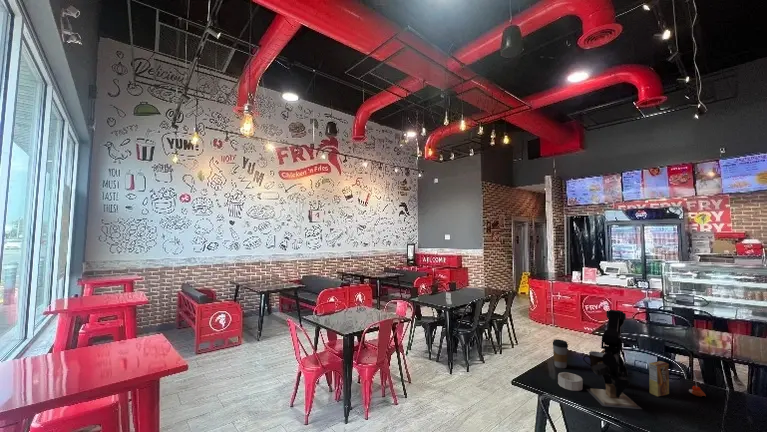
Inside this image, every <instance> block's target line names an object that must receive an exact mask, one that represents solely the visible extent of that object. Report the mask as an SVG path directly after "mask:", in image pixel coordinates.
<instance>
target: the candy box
mask: <svg viewBox="0 0 767 432" xmlns="http://www.w3.org/2000/svg"><path fill="white" fill-rule="evenodd" d="M648 365H649V366H648V367H649V368H648V369H649V370H648V371H649V372H648V373H649V381H648V383H649V394H650V395H653V396H655V397H662V396H667V395H669V394H670V377H669V376H670V364H669V363H667V362H665V361H661V360H658V361H654V362H649V363H648Z"/></svg>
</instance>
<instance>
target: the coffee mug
mask: <svg viewBox="0 0 767 432" xmlns="http://www.w3.org/2000/svg"><path fill="white" fill-rule="evenodd" d="M603 354H604V353H603V352H600V351H596V350H595V351H593V350H591V351H589V352H588V355H584V356H583V358H582V360H583V361H584V362H585V363H586V364H587V365H589V366H590V368H591V371H592V372H593V373H594V371H593V369H592V366H594V365H597V364H602V357H603ZM587 357H588V359H589V361H590V362H589V363H588V362H587V360H585V358H587Z"/></svg>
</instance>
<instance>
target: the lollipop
mask: <svg viewBox="0 0 767 432" xmlns="http://www.w3.org/2000/svg"><path fill="white" fill-rule="evenodd" d="M693 375H694V376H693V377H694V381H695V385H693V386H692V387H691V388H690V389H688V392H689V393H690V394H692V395H694V396H696V397H702V396H705V397H706V396H707V395H706V393H705V392H704V391H703V390H702V389H701V387H699V386H698V385H697V384H698V382H699V383H700V384H701V385H702V384H703V383H702V382H701V380H698V379H697V377H696V372H695V371H694V372H693Z"/></svg>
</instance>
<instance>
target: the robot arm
mask: <svg viewBox="0 0 767 432" xmlns="http://www.w3.org/2000/svg"><path fill="white" fill-rule="evenodd" d="M626 314H627V313H625V312H624V311H622V310H617V309H616V310H615V309H609V310H606V318H607V319H608V325H607V329H605V330H603V334H601V346H600V348H601V349H602V350H604V354H603V357H602V364H597V365H594V366H592V369H593V371H594V372H593V371H592V372H593V373H594V374H595V375H596V376H597V377H602V380H603V383H604V386H605V387H606V384H613V385H614V386H615V393H616V397H620V395H621V394H622V392H623V393H624V391H625V389H627V388H628V387H630V385H631V384H630V381H629V380H628V379H627V378H628V375H629V373H628V368H627V367H626V364H625V361H624V359H623V358H622V356H621V355H622V353H621V351H622V350H623V340H622V327H623V326H624V325H625V321H626V320H627V315H626Z"/></svg>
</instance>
